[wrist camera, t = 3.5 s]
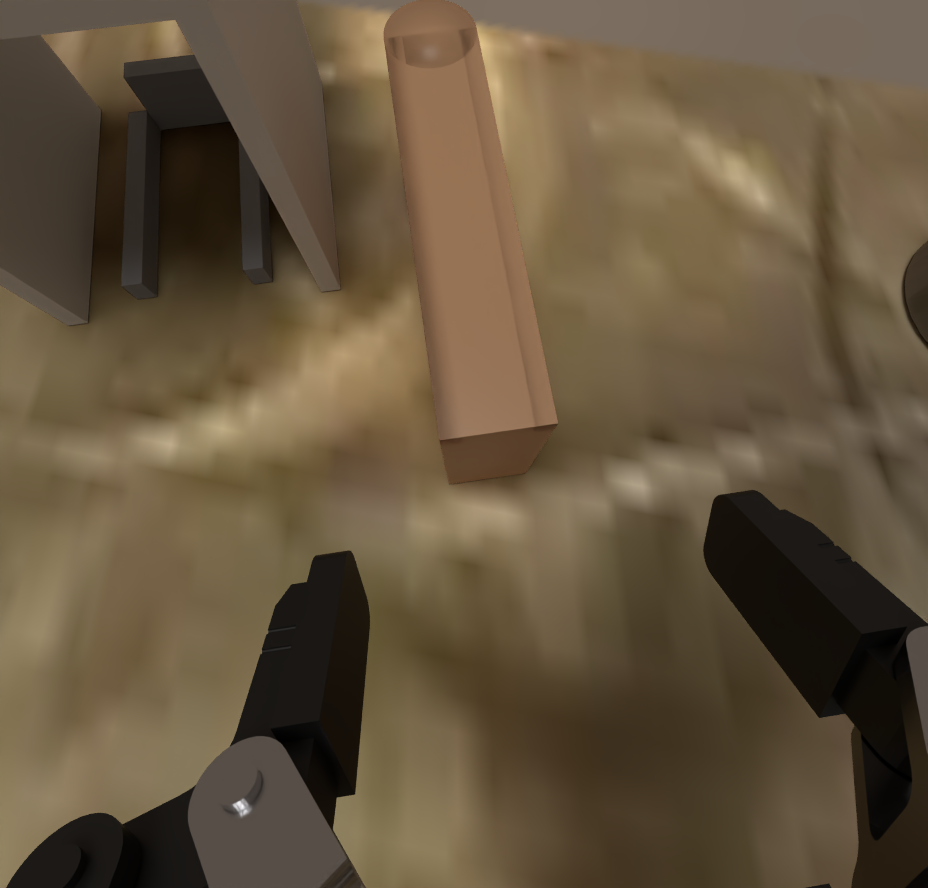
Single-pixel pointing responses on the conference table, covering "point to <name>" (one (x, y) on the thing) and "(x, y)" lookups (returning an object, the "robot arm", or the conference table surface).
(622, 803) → the conference table surface
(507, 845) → the conference table surface
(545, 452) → the conference table surface
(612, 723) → the conference table surface
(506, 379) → the rounded end wooden stick
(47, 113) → the grey arch stand
